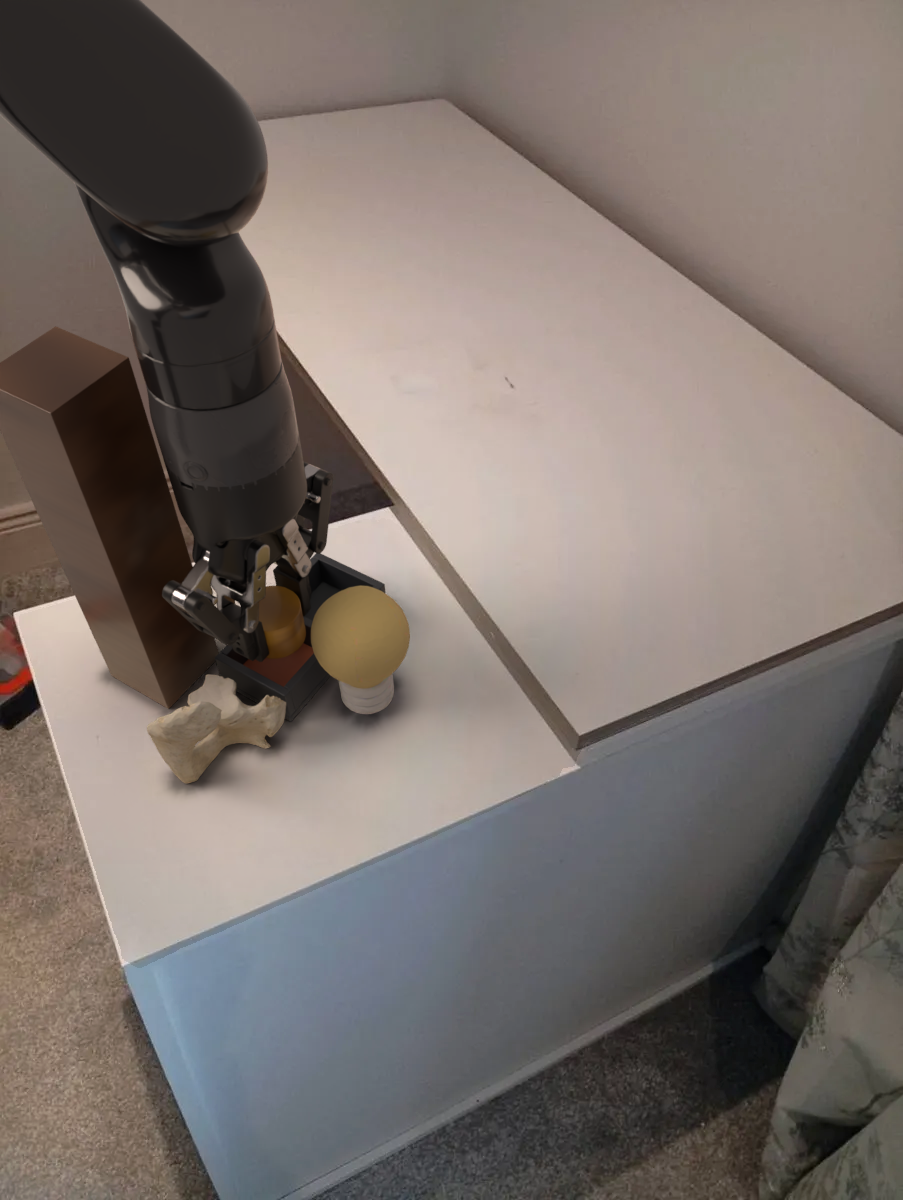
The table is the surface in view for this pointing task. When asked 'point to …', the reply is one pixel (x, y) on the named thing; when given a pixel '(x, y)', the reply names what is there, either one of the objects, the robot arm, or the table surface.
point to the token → (282, 621)
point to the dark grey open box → (301, 669)
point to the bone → (213, 726)
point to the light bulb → (361, 645)
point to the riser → (104, 505)
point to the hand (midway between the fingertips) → (275, 630)
